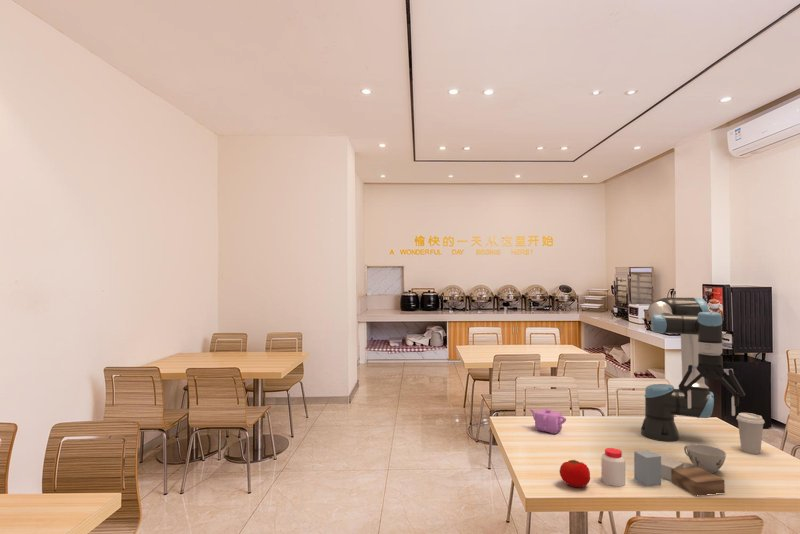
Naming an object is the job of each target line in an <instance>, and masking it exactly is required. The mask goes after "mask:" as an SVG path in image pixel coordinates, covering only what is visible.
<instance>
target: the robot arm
mask: <svg viewBox="0 0 800 534" xmlns="http://www.w3.org/2000/svg"><path fill="white" fill-rule="evenodd" d="M647 313H648V316H649V317H650V318H651V320H650V324H651V326H650V327H651V331H652V332H653V333H657V334H658V333H659V334H676V335H677V334H679V335H680V351H681V353H680V354H681V377H682V379H681V381H680V382H679V384H678V388H675V387H674V385H672V384H669V383H668V384H667V383H656V384H655V383H653V384H650V385H648V386H646V387H645V389H644V392H645V394H644V398H645V400H644V401H645V403H644V404H645V405H644V407H645V409H644V410H645V411H644V419H643V423H642V425H641V429H640V433H641V435H642V436H644V437H645V438H648V439H652V440H656V441H660V442H661V441H662V442H676V441H678V440H679V439H680V436H679V435H680V434H679V432H678V431H679V430H678V428H677V426H676V422H675V416H681V417H690V418H698V419H708V418H710V417H712V414H713V410H714V406H715V405H714V404H715V397H714V392H712V391H710V387H709V386H708V385H706V383H705V381H706V380H712V381H715V380H718V381H719V382H720V383H721V384H722V385H723V386H724V387H725V388H726V390H727V391H729V393H730V394H732V396H731V416H732V417H735V416H736V407H739V404H740V398H741V397H745V396H746V393H745V391H744V390H743V388H742V386H741V384H740V382H739V381H738V379H737V378H736V376H735V372H734V369H733V368H724V366H723V364H724V363H723V355H722V354H723V319H722V317H723V316H722V314H721V313H720V312H716V311H715V312H714V311H710V309H709V306H708V303H707V301H706V300H705V299H704V298H700V297H699V298H698V297H670V296H669V297H663V298H659V299H656V300H654V301H652V302H651V303H650V305H649V306H648V309H647ZM724 373H725V374H726V375H727V376H729V378H730V380H731V382H732V384H733V385H734V387H735V389H734V387H733V386H732V385H731V384H730V383H729V382H728V381H727V379H725V377H724V376H723V374H724ZM705 379H706V380H705Z"/></svg>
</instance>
